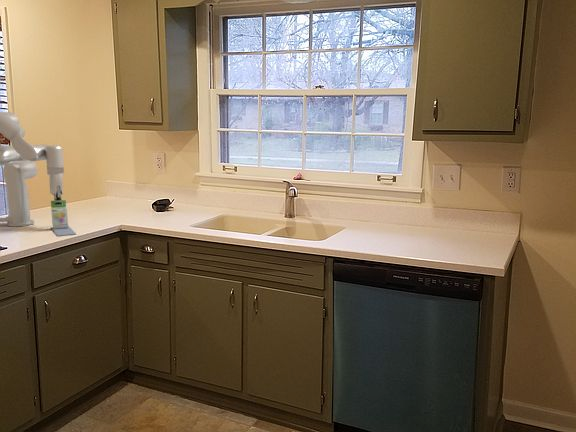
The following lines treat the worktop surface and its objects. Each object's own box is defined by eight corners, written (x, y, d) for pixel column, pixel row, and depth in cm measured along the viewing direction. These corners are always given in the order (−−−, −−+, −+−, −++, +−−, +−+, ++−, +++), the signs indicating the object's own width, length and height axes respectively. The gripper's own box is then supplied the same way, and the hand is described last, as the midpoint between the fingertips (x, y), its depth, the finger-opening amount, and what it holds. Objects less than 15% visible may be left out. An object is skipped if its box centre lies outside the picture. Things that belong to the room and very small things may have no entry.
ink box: (52, 229, 258) (50, 201, 256) (52, 227, 262) (50, 200, 259) (68, 228, 261) (66, 201, 259) (68, 226, 265) (66, 199, 262)
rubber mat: (57, 236, 246) (57, 235, 246) (51, 228, 263) (51, 227, 263) (76, 234, 250) (76, 233, 250) (68, 226, 267) (68, 225, 267)
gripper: (44, 170, 266) (48, 206, 269) (49, 173, 253) (52, 211, 257) (61, 169, 270) (64, 205, 273) (66, 172, 257) (69, 209, 261)
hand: (58, 208), depth 265 cm, fingers closed
